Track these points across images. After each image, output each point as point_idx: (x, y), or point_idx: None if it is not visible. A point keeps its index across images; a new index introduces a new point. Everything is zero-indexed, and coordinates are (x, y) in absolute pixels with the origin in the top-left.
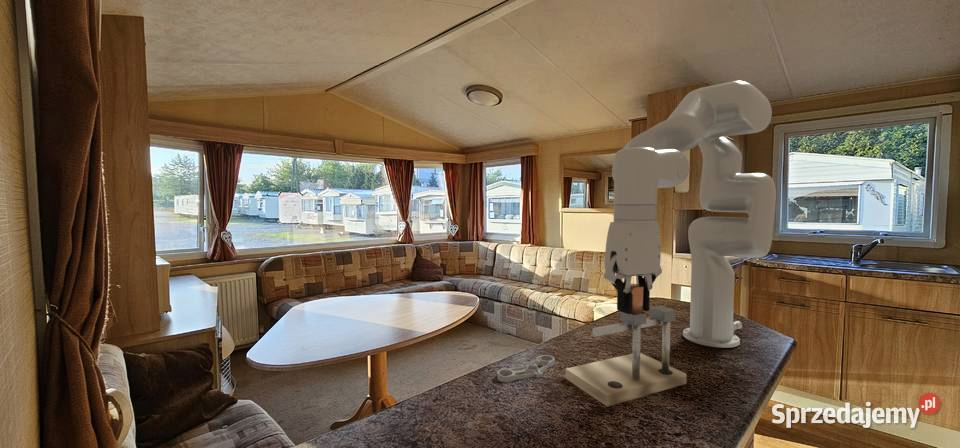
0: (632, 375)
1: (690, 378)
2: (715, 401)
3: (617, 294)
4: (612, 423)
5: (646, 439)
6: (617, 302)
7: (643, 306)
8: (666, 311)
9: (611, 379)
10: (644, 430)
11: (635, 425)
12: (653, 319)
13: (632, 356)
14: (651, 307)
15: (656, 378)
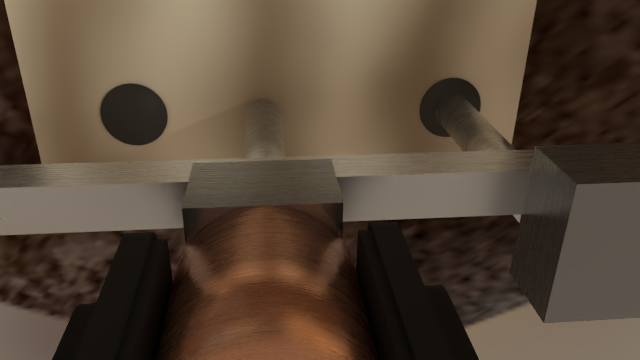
0: (246, 115)
1: (555, 113)
2: (452, 258)
3: (78, 350)
4: (16, 235)
5: None
6: (64, 332)
7: None
8: (570, 317)
9: (154, 65)
10: (97, 292)
11: (87, 266)
12: (490, 214)
13: (247, 146)
14: (585, 194)
15: (357, 138)
